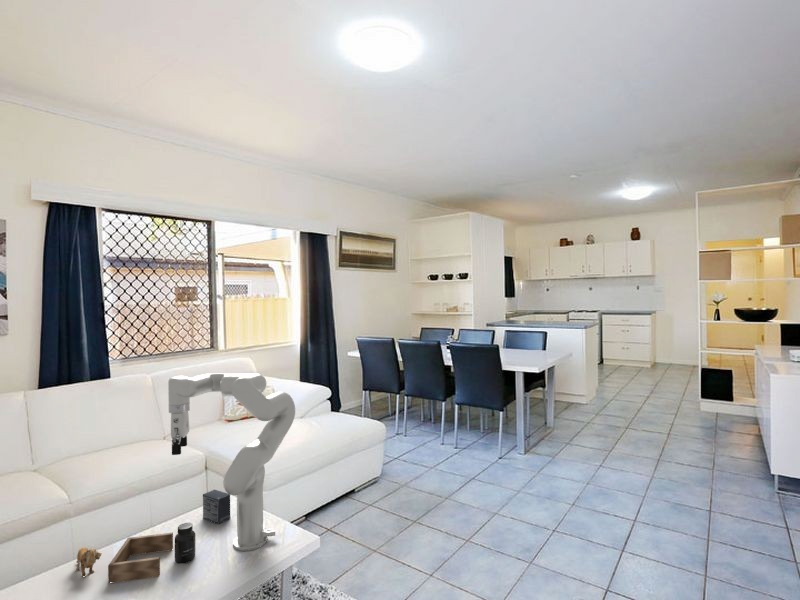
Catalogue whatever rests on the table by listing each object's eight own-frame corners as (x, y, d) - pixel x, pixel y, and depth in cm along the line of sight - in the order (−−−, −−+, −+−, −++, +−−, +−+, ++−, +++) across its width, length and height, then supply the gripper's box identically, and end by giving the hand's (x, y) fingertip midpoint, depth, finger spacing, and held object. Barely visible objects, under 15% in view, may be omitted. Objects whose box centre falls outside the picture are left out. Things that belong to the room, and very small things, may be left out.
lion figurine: (103, 573, 152) (103, 547, 152) (85, 582, 147) (85, 555, 147) (84, 560, 160) (84, 535, 160) (67, 567, 155) (67, 542, 155)
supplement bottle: (187, 565, 155) (186, 531, 155) (170, 563, 157) (169, 529, 157) (199, 554, 162) (199, 522, 162) (183, 552, 164) (182, 520, 163)
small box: (231, 518, 189) (231, 493, 189) (218, 524, 183) (218, 499, 183) (215, 512, 194) (215, 488, 194) (202, 518, 189) (201, 494, 189)
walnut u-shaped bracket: (173, 548, 166) (172, 532, 166) (158, 576, 149) (158, 558, 149) (128, 554, 163) (128, 537, 163) (108, 583, 146) (108, 565, 146)
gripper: (184, 412, 169) (184, 457, 169) (194, 402, 186) (194, 442, 186) (162, 413, 167) (163, 458, 167) (174, 403, 184) (174, 444, 184)
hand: (179, 450), depth 177 cm, fingers open, 9 cm apart
